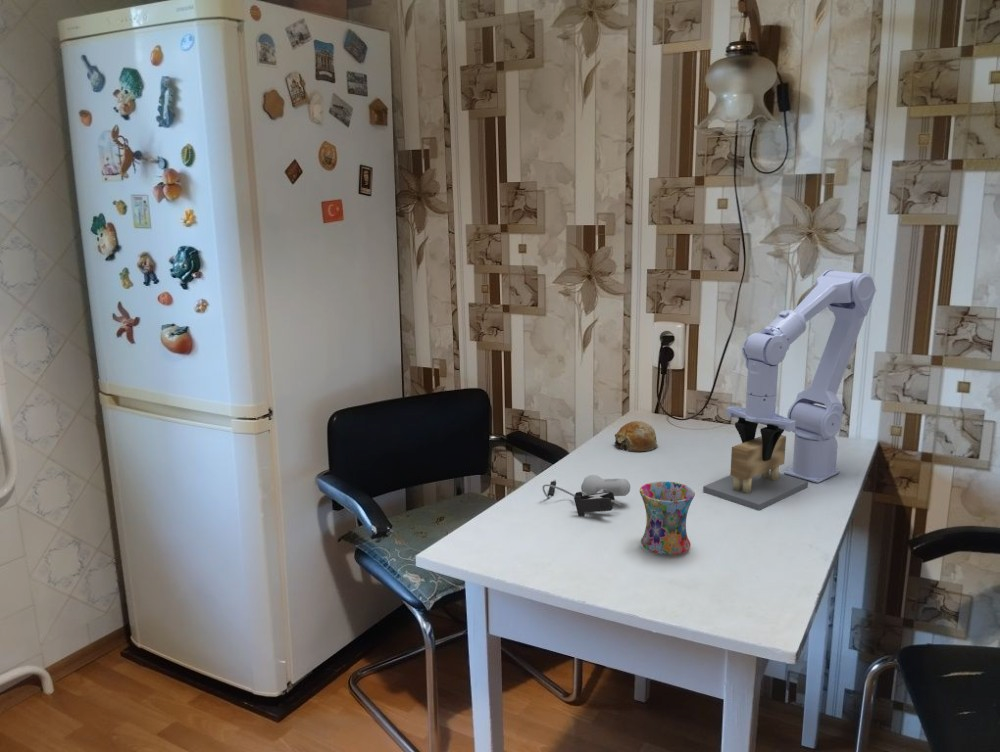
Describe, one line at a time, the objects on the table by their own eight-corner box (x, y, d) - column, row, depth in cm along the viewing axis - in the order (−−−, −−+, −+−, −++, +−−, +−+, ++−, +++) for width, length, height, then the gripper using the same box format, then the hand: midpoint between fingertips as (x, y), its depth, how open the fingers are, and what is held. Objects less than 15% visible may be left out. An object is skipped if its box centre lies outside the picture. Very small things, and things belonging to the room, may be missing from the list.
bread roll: (652, 467, 189) (668, 438, 187) (613, 450, 188) (628, 420, 186) (645, 453, 199) (660, 425, 197) (608, 437, 198) (623, 409, 196)
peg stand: (752, 470, 175) (753, 452, 174) (807, 486, 165) (809, 467, 164) (703, 491, 164) (703, 472, 163) (758, 510, 154) (760, 490, 153)
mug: (688, 563, 133) (691, 504, 131) (633, 555, 136) (634, 497, 134) (697, 534, 144) (700, 479, 142) (646, 527, 147) (647, 473, 145)
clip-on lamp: (533, 518, 160) (611, 519, 149) (525, 489, 159) (603, 488, 148) (563, 494, 169) (638, 493, 158) (555, 466, 168) (631, 464, 157)
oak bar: (768, 459, 169) (770, 432, 168) (784, 463, 167) (786, 436, 165) (730, 475, 161) (731, 447, 159) (745, 480, 158) (747, 451, 156)
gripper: (718, 390, 163) (716, 453, 166) (783, 403, 152) (778, 471, 155) (738, 384, 167) (735, 445, 170) (803, 397, 156) (798, 462, 159)
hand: (757, 457), depth 163 cm, fingers closed on oak bar, 3 cm apart
